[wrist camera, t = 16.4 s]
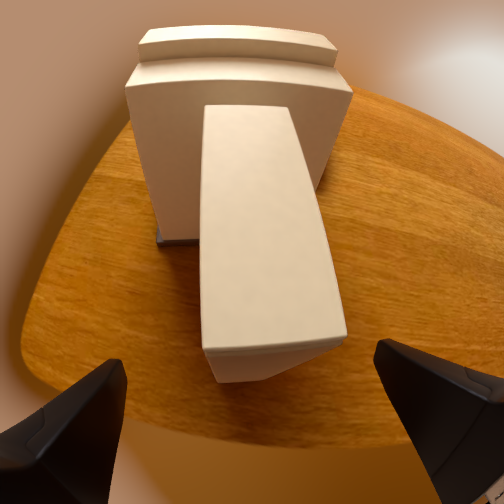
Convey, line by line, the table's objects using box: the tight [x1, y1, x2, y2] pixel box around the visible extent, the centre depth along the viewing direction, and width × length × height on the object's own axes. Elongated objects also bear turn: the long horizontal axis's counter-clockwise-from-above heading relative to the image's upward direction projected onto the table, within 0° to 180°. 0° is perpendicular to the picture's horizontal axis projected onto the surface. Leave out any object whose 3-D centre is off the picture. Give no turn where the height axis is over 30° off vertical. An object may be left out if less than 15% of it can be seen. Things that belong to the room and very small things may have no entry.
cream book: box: [200, 105, 347, 383], centre depth 13 cm, size 8×3×13 cm, turn 5°
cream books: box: [125, 25, 353, 247], centre depth 17 cm, size 7×11×14 cm, turn 95°
